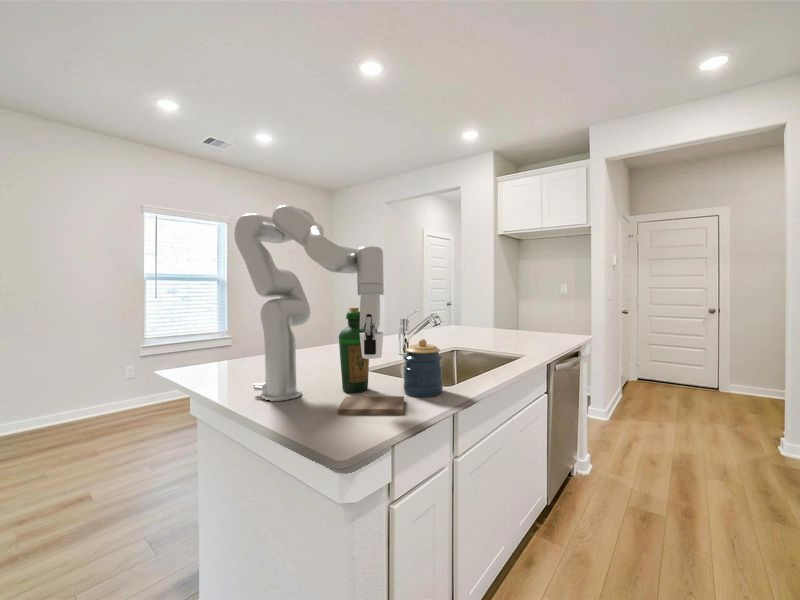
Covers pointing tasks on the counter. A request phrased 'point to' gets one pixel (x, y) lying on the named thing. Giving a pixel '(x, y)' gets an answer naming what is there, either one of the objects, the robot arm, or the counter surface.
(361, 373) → the bottle
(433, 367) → the canister
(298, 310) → the robot arm
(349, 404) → the walnut board
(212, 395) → the counter surface
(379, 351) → the shot glass
